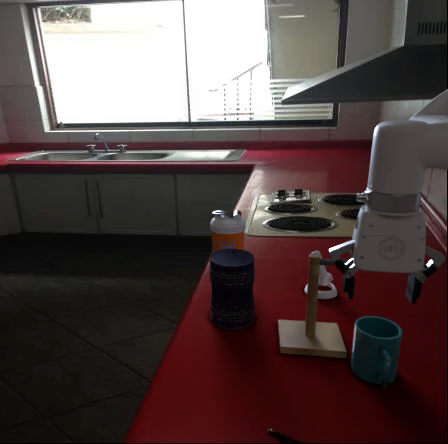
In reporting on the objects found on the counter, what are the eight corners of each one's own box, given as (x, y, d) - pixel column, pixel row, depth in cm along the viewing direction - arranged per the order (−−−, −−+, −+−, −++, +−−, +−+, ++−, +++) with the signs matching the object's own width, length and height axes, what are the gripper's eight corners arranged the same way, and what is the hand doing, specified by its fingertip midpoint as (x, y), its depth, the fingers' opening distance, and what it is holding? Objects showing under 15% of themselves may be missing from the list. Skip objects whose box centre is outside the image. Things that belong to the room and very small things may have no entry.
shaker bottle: (210, 277, 116) (208, 207, 109) (242, 275, 115) (242, 206, 109) (212, 292, 107) (211, 218, 101) (247, 291, 107) (248, 216, 101)
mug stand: (372, 331, 87) (382, 247, 81) (386, 361, 77) (398, 269, 72) (278, 325, 91) (280, 245, 85) (280, 353, 82) (283, 265, 76)
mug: (347, 356, 79) (351, 314, 77) (389, 359, 78) (394, 317, 75) (360, 395, 70) (365, 349, 67) (408, 400, 68) (415, 353, 65)
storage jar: (250, 332, 89) (251, 268, 84) (205, 326, 92) (203, 264, 88) (257, 309, 98) (258, 250, 93) (216, 304, 101) (214, 247, 97)
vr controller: (306, 257, 112) (328, 249, 106) (322, 301, 108) (345, 295, 103) (288, 259, 107) (311, 250, 102) (304, 305, 104) (328, 298, 98)
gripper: (337, 206, 64) (328, 305, 69) (465, 208, 60) (445, 313, 66) (330, 194, 71) (322, 284, 76) (444, 196, 67) (427, 291, 72)
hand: (379, 298), depth 71 cm, fingers open, 9 cm apart
